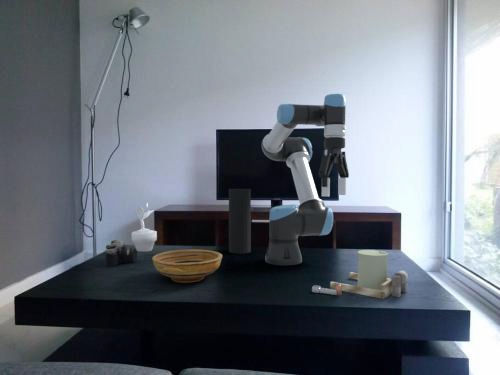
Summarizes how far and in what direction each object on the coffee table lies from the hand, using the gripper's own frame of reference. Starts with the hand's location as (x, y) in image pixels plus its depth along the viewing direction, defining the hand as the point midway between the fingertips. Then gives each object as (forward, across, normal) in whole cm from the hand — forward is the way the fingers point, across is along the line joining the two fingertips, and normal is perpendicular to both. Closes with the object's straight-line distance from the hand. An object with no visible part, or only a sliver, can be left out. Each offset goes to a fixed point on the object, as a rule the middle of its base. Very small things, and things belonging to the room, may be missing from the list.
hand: (334, 195), depth 136 cm
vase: (+29, +7, +51) cm, 59 cm away
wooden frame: (+29, -10, -16) cm, 34 cm away
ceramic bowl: (+29, -38, +37) cm, 60 cm away
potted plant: (+29, -19, +87) cm, 94 cm away
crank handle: (+29, -23, -9) cm, 38 cm away
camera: (+29, -40, +74) cm, 89 cm away
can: (+29, -10, -18) cm, 35 cm away
